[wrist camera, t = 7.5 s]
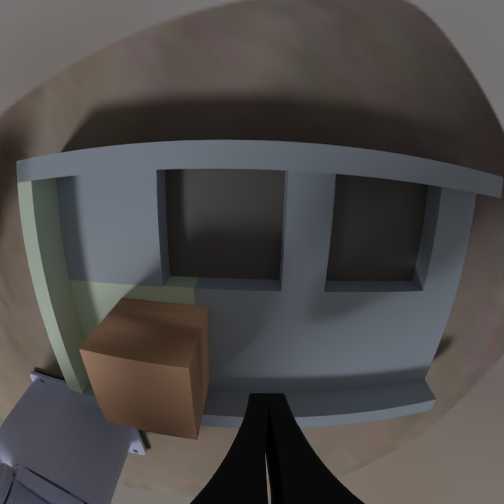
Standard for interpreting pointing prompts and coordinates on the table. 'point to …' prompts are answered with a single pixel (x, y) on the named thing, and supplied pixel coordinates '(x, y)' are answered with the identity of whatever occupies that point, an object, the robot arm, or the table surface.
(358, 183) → the tray
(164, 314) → the block
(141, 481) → the table surface
